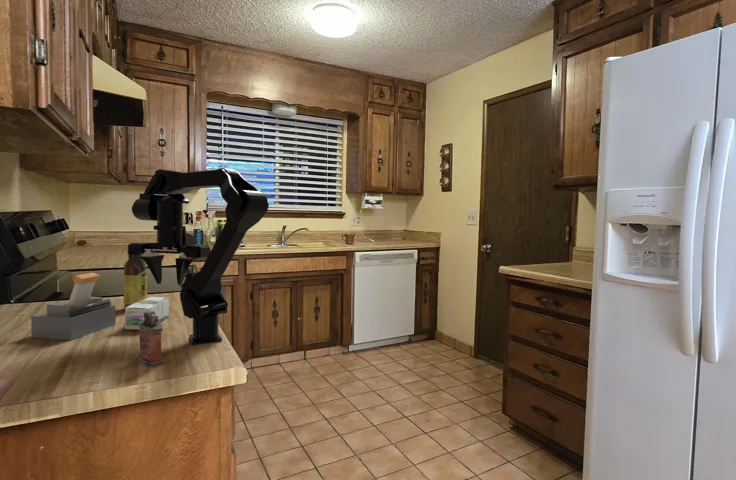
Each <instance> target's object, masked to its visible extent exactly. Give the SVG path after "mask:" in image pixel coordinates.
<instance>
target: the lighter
mask: <svg viewBox="0 0 736 480" xmlns="http://www.w3.org/2000/svg"><path fill="white" fill-rule="evenodd" d="M158 322H159V317H158V316H157V315H156V314H155V311H146V312H144V321H140V322H139V328H140V330H139V338H138V339H139V353H138V360H139V362H140V363H141V364H142V365H143V366H145V367H148V368H157V367H161V366H162V365H163V358H162V332H163V325H162V323H161V322H160V323H158Z"/></svg>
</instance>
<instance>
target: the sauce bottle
mask: <svg viewBox="0 0 736 480" xmlns="http://www.w3.org/2000/svg"><path fill="white" fill-rule="evenodd" d="M129 245H130V243H128V244H127V247H128V246H129ZM140 256H142V253H141V254H140V255H128V256H127V258H128V259H127V260H126V262H125V264H124V268H123V304H124V306H123V308H124V309H125V308H126V307H128V306H130V305H132V304H134V303H136V302H138V301H140V300H143V299H145V298H147V297H148V266H147V264H146V263H145V261H144V260H143V259H140Z"/></svg>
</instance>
